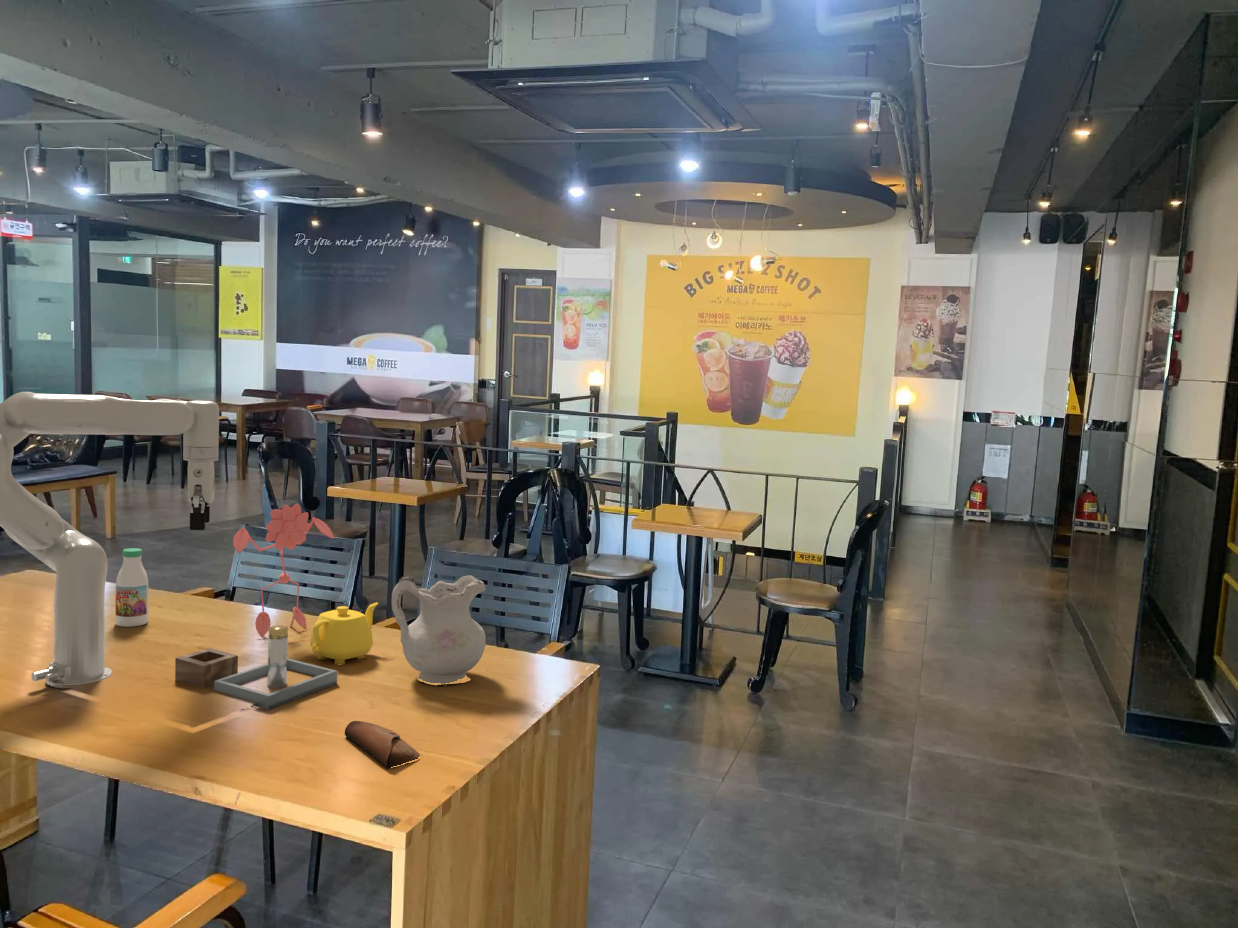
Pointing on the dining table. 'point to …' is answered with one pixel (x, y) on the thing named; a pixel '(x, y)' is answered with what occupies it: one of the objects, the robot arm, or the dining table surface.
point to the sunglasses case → (381, 743)
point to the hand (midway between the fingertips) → (199, 526)
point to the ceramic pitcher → (441, 629)
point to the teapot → (343, 634)
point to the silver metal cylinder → (277, 656)
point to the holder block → (205, 667)
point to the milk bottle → (132, 590)
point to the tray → (279, 697)
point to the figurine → (288, 534)
